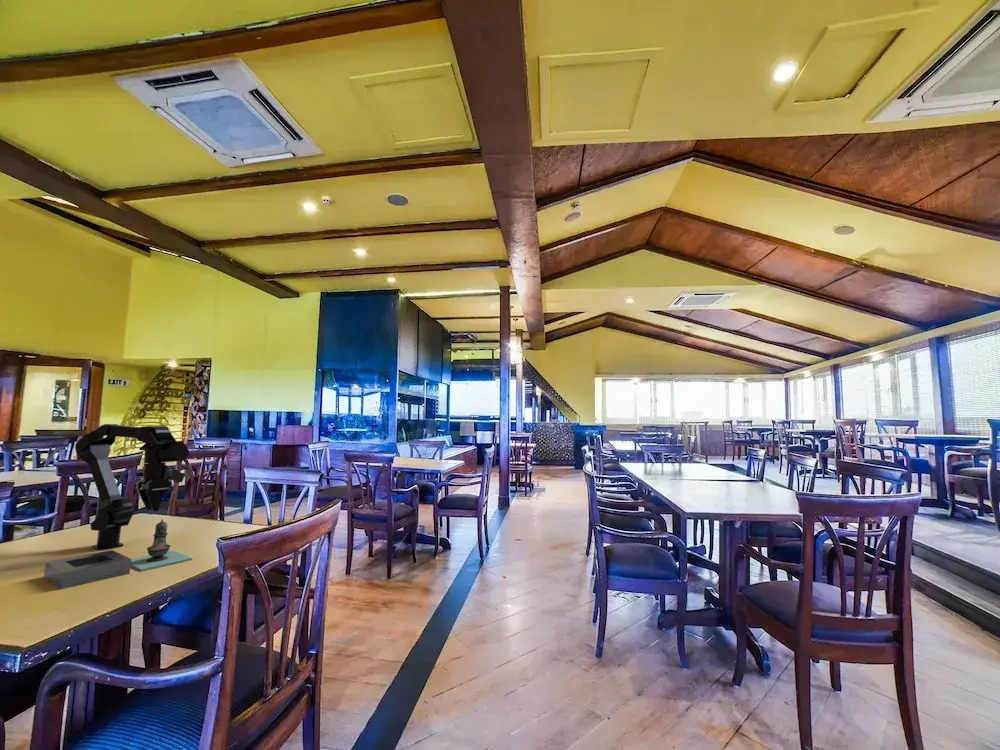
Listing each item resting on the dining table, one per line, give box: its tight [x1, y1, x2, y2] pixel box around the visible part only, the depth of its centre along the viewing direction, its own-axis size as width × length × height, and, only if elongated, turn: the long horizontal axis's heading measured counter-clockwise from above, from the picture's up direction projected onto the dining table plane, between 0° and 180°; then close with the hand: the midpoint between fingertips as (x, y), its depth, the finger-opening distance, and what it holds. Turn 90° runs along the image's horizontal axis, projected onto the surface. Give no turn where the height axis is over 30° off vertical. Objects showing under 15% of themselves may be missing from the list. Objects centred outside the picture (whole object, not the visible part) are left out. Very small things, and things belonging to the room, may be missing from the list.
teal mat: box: [130, 550, 193, 572], centre depth 132 cm, size 13×13×1 cm
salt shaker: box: [146, 518, 172, 562], centre depth 132 cm, size 6×6×12 cm
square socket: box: [43, 549, 132, 590], centre depth 119 cm, size 14×14×4 cm
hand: (152, 510), depth 143 cm, fingers open, 9 cm apart
